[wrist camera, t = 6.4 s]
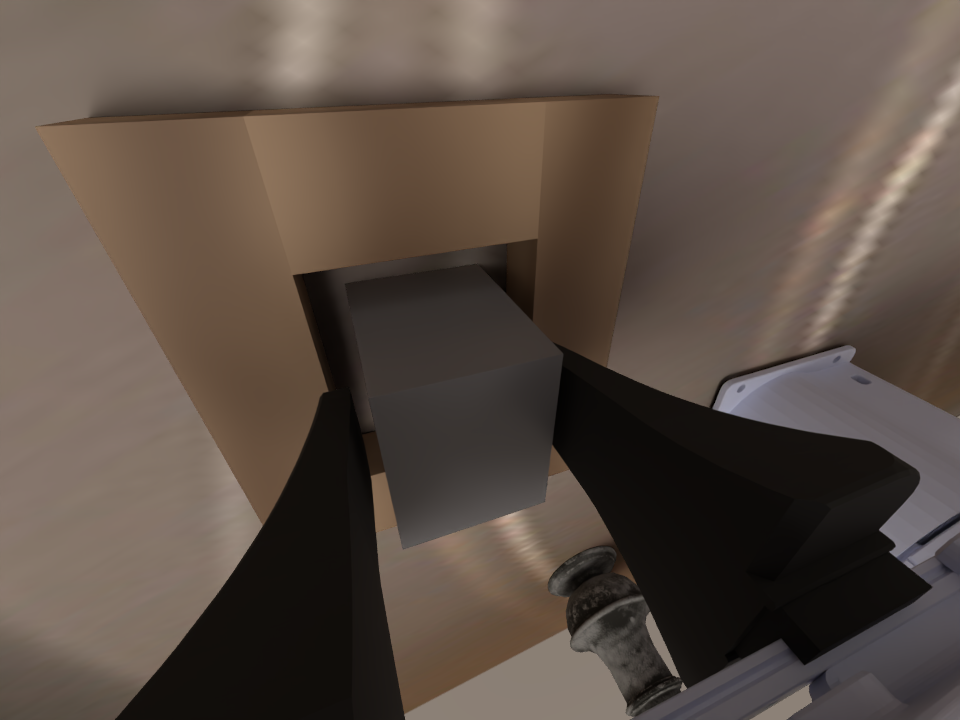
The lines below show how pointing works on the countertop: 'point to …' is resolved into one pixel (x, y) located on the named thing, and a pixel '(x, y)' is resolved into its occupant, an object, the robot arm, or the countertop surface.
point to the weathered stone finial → (613, 627)
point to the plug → (455, 397)
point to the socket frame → (348, 236)
